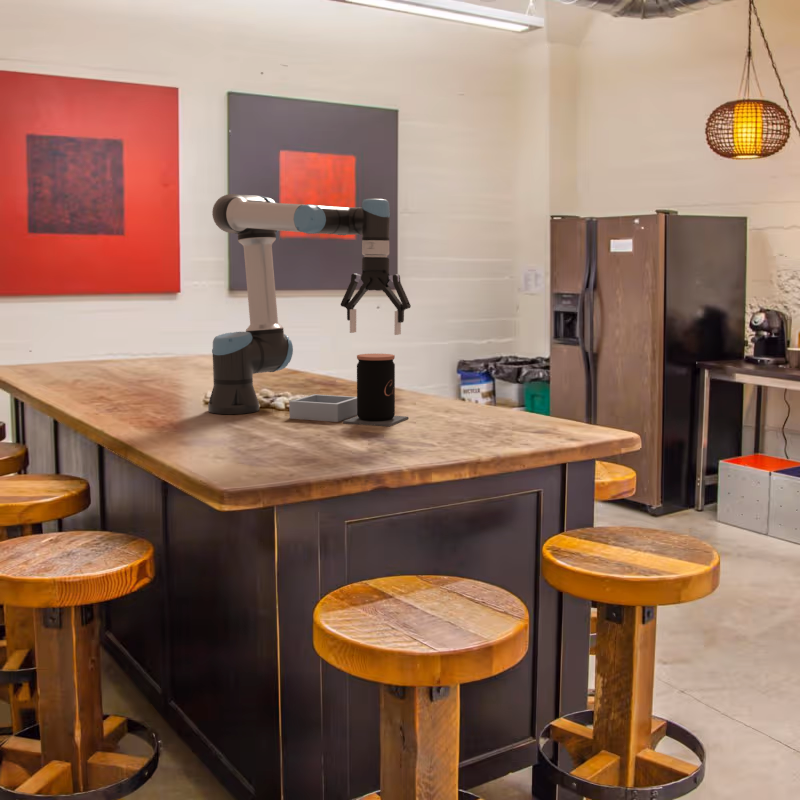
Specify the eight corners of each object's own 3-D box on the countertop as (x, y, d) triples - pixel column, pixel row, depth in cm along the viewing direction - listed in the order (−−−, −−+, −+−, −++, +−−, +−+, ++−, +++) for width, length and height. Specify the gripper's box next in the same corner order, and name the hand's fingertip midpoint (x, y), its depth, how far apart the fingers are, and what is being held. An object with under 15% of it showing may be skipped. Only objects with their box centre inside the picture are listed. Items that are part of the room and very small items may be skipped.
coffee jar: (390, 422, 253) (390, 357, 250) (352, 421, 255) (352, 356, 253) (398, 416, 263) (398, 353, 261) (362, 415, 265) (361, 353, 263)
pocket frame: (289, 418, 263) (289, 401, 263) (314, 410, 278) (314, 394, 277) (337, 421, 258) (337, 404, 257) (360, 413, 272) (360, 397, 271)
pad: (343, 423, 256) (343, 421, 255) (364, 415, 268) (364, 413, 268) (389, 426, 250) (389, 424, 250) (408, 418, 263) (408, 416, 263)
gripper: (328, 255, 254) (328, 332, 257) (412, 256, 245) (411, 336, 248) (340, 256, 261) (340, 330, 264) (422, 257, 251) (421, 334, 255)
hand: (375, 333), depth 256 cm, fingers open, 13 cm apart
